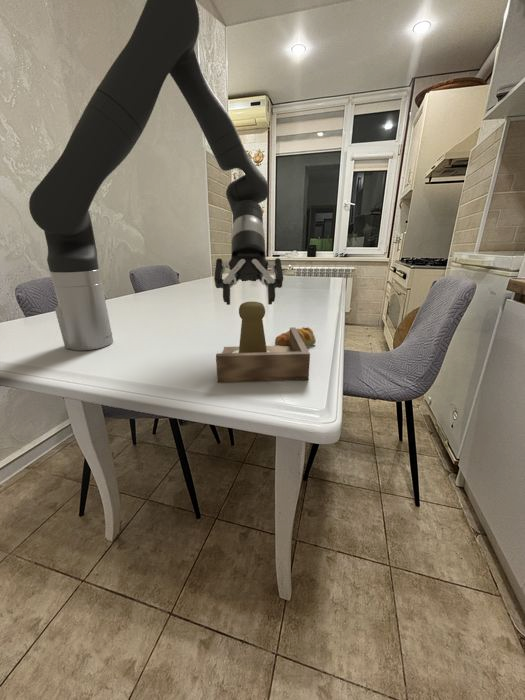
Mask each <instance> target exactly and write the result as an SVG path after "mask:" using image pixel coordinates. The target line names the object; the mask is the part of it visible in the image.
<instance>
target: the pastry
mask: <svg viewBox="0 0 525 700" xmlns="http://www.w3.org/2000/svg"><path fill="white" fill-rule="evenodd" d="M296 330H297V331H298V333H299V335H300V337H301V339H302V340H303V342H304V344H305V346H307V347H310V346H309V345H312V346H314V345H315V344H316V342H317V341H316V336H315V335H314V331H313V330H312V329H311V328H310V327H308V326H307V327H304V326H303V327H302V328H296ZM289 342H290V329H289V330H288V331H286V332H283V333H281V334H279V335H277V336H276V337H275V340H274V344H275V346H281V345H289ZM313 344H314V345H313Z"/></svg>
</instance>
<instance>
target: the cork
mask: <svg viewBox="0 0 525 700" xmlns="http://www.w3.org/2000/svg"><path fill="white" fill-rule="evenodd" d="M238 307H239V308H238V315H239V318H240V319H241V327H240V337H239V344H238V345H239V353H260V352H267V349H266V346H267V344H266V343H267V342H266V336H265V329H264V321H263V319H264V318H265V316H266V308H265V305H264V304H263V303H262V302H259V301H244V302H243V303H241V304H240V305H239V306H238Z"/></svg>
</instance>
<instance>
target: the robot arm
mask: <svg viewBox="0 0 525 700" xmlns="http://www.w3.org/2000/svg"><path fill="white" fill-rule="evenodd" d="M200 20H201V19H200V9H199V6H198V2H197V0H146V1H145V4H144V7H143V9H142V11H141V14H140V16H139V18H138V21H137V23H136V24H135V28H134V30H133V32H132V34H131V36H130V38H129V39H128V41H127V43H126V45H125V46H124V47H123V49H122V50H121V52H120V53H119V54H118V55H117V57H116V59H115V60H114V61H113V63H112V65H111V66H110V67H109V69H108V71H107V72H106V74H105V75H104V77H103V79H102V80H101V82H99V84H98V86H97V88H96V89H95V91H94V93H93V94H92V96H91V98H90V99H89V101H88V103H87V104H86V106H85V107H84V110H83V112H82V114H81V116H80V118H79V120H78V122H77V124H76V125H75V127H74V129H73V131H72V133H71V135H70V136H69V140H68V142H67V144H66V146H65V147H64V150H63V151H62V153H61V155H60V157H59V158H58V159H57V160H56V162H55V163H54V164H53V166H52V167H51V169H50V170H49V171H48V172H47V173H46V175H45V176H44V177H43V178H42V180H41V181H40V182H39V184H38V185H37V186H36V187H35V189H34V190H32V193H31V194H30V197H29V201H28V202H29V203H28V204H29V205H28V208H29V209H28V210H29V213H30V216H31V218H32V220H33V221H34V223H35V224H36V225H37V227H38V228H40V229H41V230H43V232H44V236H45V241H46V245H47V257H46V263H47V265H48V270H49V273H50V278H51V281H52V282H51V283H52V285H53V289H54V293H55V297H56V300H57V303H58V306H56V307H55V308H54V311H55V315H56V318H57V323H58V326H59V331H60V333H61V337H62V342H63V344H64V349H66V350H68V349H70V350H72V351H73V350H74V351H79V352H80V351H90V350H96V349H101V348H104V347H107V346H109V345H111V344H113V342H114V338H113V332H112V327H111V323H110V317H109V312H108V307H107V303H106V298H105V292H104V287H103V283H102V282H103V281H102V277H101V273H100V268H99V262H98V250H97V246H96V239H95V234H94V228H93V223H92V219H91V213H90V211H89V209H90V207H91V204H92V203H93V201H94V198H95V197H96V195H97V192H98V190H99V189H100V187H101V186H102V184H103V183H104V181H105V180H106V179H107V178H108V177H109V175H111V174H112V173H113V172H114V171H115V170H116V169H117V168H118V167H119V165H120V164H122V163H123V161H124V160H125V159H126V158H127V157H128V156H129V154H130V153H131V152H132V150H133V149H134V147H135V146H136V144H137V142H138V141H139V139H140V137H141V136H142V133H144V130H145V128H146V127H147V124H148V122H149V120H150V117H151V116H152V113H153V111H154V109H155V106H156V103H157V100H158V99H159V94H160V92H161V89H162V88H163V84H164V82H165V81H166V79H167V77H168V75H170V76H171V78H172V80H173V81H174V83H175V84H176V86H177V87H178V89H179V91H180V92H181V94H182V96H183V97H184V100H185V101H186V103H187V105H188V106H189V108H190V110H191V112H192V114H193V115H194V117H195V119H196V121H197V123H198V125H199V127H200V129H201V131H202V133H203V135H204V138H205V140H206V141H207V142H206V143H208V146H209V147H210V150H211V151H212V155H213V156H214V158H215V161H216V162H217V164H218V166H219V168H220V170H221V171H224V172H227V171H231V170H234V169H235V170H236V169H239V170H241V171H242V172H243V173H244V175H242V176H241V177H238V178H237V179H234V180H233V181H232V182H230V183H229V184H228V185H227V188H226V191H225V196H226V200H227V202H228V204H229V207H230V209H231V213H232V229H231V246H230V247H231V250H230V252H231V253H230V254H231V255H230V256H231V258H230V260H229V261H223V260H222V258H217V259H215V261H216V262H215V269H214V278H213V279H214V280H213V281H214V285H215V288H216V289H222V299H223V302H224V303H226V305H227V306H230V305H231V288H232V287H234V286H235V285H237V284H238V283H239V281H241V282H247V281H251V282H257V281H259V283H261V284H262V285H263V286H264V287H266V288H267V305H272V303H274V302H275V301H276V288H278V289H281V288H283V282H284V273H283V268H282V262H281V258H277V257H276V258H275V259H274V261H272V260H271V261H268V260H267V258H266V256H267V255H266V240H265V239H266V238H265V237H266V236H265V229H264V220H263V219H264V218H263V210H262V209H263V208H262V207H261V205H260V204H261V203H262V202H265V201H266V200H267V198H268V197H269V193H270V188H269V184H268V181H267V179H266V177H265V176H264V175H263V173H262V172H261V171H260V170H259V168H258V167H257V165H256V164H255V163H254V161H253V160H252V158H251V157H250V155H249V153H248V152H247V150H246V149H245V146H244V144H243V143H242V139H241V138H240V135H239V133H238V130H237V128H236V126H235V123H234V122H233V119H232V117H231V115H230V114H229V112H228V111H227V109H226V108H225V107H224V105H223V104H222V102H221V101H220V100H219V98H218V97H217V96H216V94H215V93H214V91H213V90H212V88H211V86H210V84H209V83H208V81H207V79H206V77H205V75H204V72H203V70H202V67H201V65H200V62H199V58H198V55H197V52H196V49H195V46H196V43H197V40H198V37H199V34H200V33H199V32H200V27H201V26H200V25H201V23H200ZM227 269H229V270H230V271H229V272H228V275H227V276H226V277H224V279H223V273H224V274H225V272H226V271H227ZM268 269H270V270H271V271H272V273H274V277H272V276H271V275H270V272H269V271H268Z"/></svg>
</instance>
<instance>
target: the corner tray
mask: <svg viewBox="0 0 525 700" xmlns="http://www.w3.org/2000/svg"><path fill="white" fill-rule="evenodd" d="M296 329H297V328H296V327H289V330H290V342H289V345H281V346H278V345H266V349H267V352H260V353H239V346H223V350H222V352H221V353H218V352H217V353H216V354H215V360H216V361H215V363H216V378H217V383H219V384H220V383H221V384H222V383H252V382H254V383H255V382H256V383H257V382H260V383H261V382H287V381H290V382H291V381H309V380H310V379H309V376H310V363H311V362H310V361H311V360H310V359H311V352H310V351H309V349H308V346H307V347H306V346H305V344H304V342H303V340H302V339H301V337H300V335H299V333H298V331H297V330H296Z"/></svg>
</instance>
